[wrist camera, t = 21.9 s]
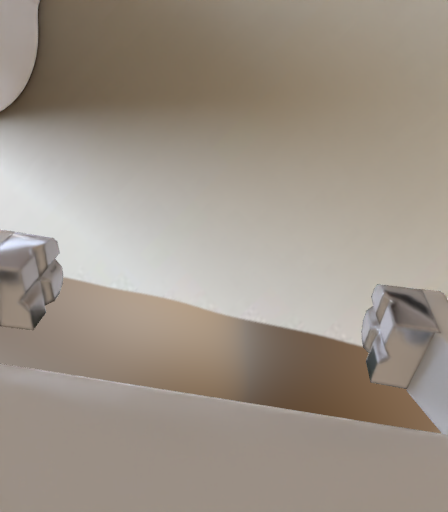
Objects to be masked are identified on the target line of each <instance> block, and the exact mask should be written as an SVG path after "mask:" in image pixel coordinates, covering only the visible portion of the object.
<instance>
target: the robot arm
mask: <svg viewBox="0 0 448 512" xmlns="http://www.w3.org/2000/svg"><path fill="white" fill-rule="evenodd" d="M39 2H40V0H0V111H2V110H4V109H5V108H6V107H8V106H9V105H10V104H11V103H12V102H13V101H14V100H15V99H16V98H17V97H18V96H19V95H20V93H21V92H22V91H23V89H24V87H25V86H26V84H27V82H28V80H29V78H30V75H31V73H32V70H33V67H34V64H35V60H36V55H37V48H38V5H39ZM59 253H60V252H59V247H58V242H57V241H56V240H55V239H54V238H50V237H44V236H38V235H32V234H25V233H19V232H13V231H6V230H0V326H3V327H11V328H19V329H27V330H34V328H35V327H36V326H37V324H38V323H39V321H40V320H41V319H42V317H43V316H44V315H45V313H46V310H45V305H47V304H49V303H51V302H53V301H55V299H56V298H57V296H58V295H59V293H60V290H61V287H62V284H63V270H62V266H61V265H60V264H59V263H58V262H57V260H56V259H55V258H56V257H57V256H58V254H59ZM371 298H372V302H373V306H372V307H371V308H370V309H368V310H367V311H366V313H365V316H364V319H363V324H362V331H361V333H362V344H363V348H364V349H365V350H366V351H367V352H368V353H369V354H368V357H367V360H366V363H367V368H368V372H369V378H370V382H371V383H376V384H382V385H388V386H393V387H399V388H404V389H407V392H408V393H409V394H410V395H411V397H412V398H413V399H414V400H415V401H416V403H417V404H418V405H419V406H420V407H421V409H422V410H423V411H424V412H425V414H426V415H427V416H428V417H429V418H430V420H431V421H432V422H433V423H434V424H435V425H436V427H437V428H438V429H439V430H440V432H441V433H442V434H439V433H433V432H427V431H421V430H414V429H408V428H401V427H395V426H388V425H381V424H375V423H369V422H363V421H357V420H350V419H344V418H338V417H332V416H326V415H320V414H313V413H307V412H301V411H295V410H289V409H283V408H276V407H270V406H264V405H258V404H251V403H245V402H239V401H233V400H226V399H220V398H214V397H208V396H201V395H195V394H189V393H183V392H176V391H170V390H164V389H157V388H151V387H145V386H138V385H132V384H126V383H119V382H113V381H107V380H100V379H94V378H88V377H81V376H75V375H69V374H63V373H57V372H50V371H44V370H38V369H31V368H25V367H19V366H13V365H7V364H0V512H448V300H447V298H446V296H445V294H444V293H442V292H441V291H434V290H425V289H413V288H405V287H397V286H389V285H381V284H377V285H376V287H375V288H374V291H373V293H372V296H371Z"/></svg>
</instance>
